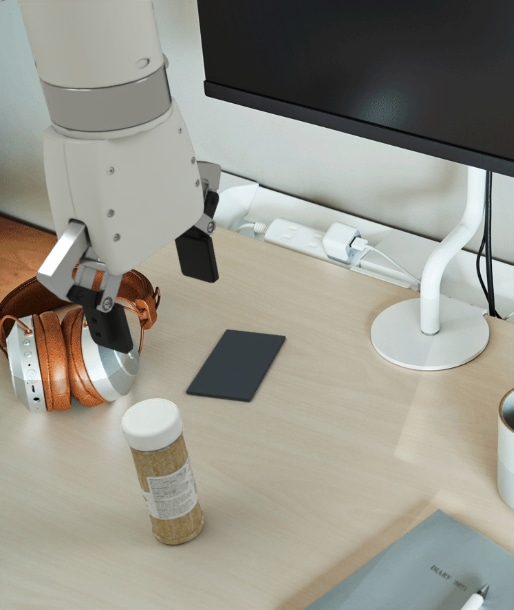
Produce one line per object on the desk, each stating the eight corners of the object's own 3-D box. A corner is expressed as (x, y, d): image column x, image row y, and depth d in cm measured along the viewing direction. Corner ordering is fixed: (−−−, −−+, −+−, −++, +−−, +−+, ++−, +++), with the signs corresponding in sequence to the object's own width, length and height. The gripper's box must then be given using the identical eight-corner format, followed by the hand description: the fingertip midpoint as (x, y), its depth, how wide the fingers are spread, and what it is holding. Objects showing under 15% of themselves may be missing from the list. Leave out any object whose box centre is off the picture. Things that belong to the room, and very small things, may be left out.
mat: (186, 394, 96) (185, 391, 96) (227, 331, 105) (226, 328, 105) (250, 402, 96) (249, 399, 95) (285, 338, 104) (285, 335, 104)
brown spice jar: (153, 512, 83) (121, 400, 75) (205, 503, 84) (179, 392, 76) (151, 552, 80) (118, 438, 72) (206, 542, 81) (178, 428, 73)
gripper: (152, 43, 67) (192, 244, 77) (-47, 136, 54) (33, 363, 64) (238, 59, 64) (268, 265, 74) (51, 161, 51) (118, 393, 61)
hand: (159, 310), depth 69 cm, fingers open, 9 cm apart
